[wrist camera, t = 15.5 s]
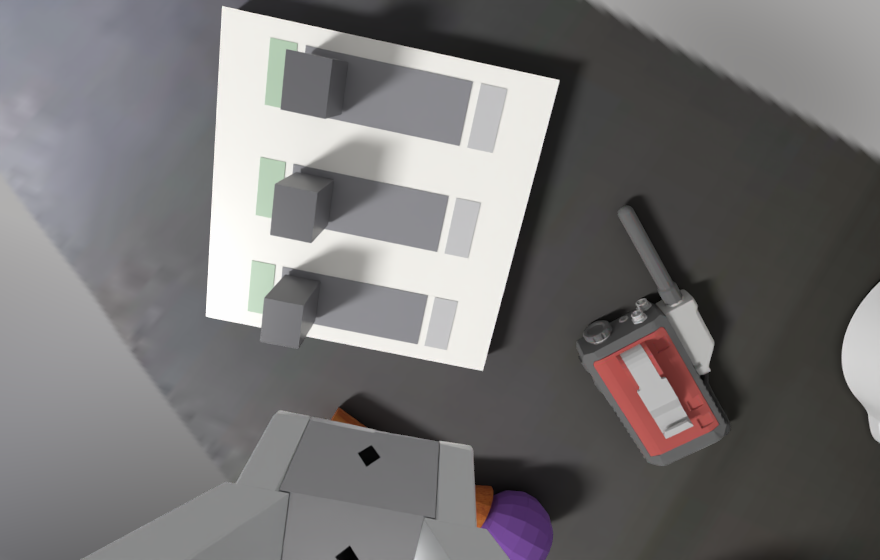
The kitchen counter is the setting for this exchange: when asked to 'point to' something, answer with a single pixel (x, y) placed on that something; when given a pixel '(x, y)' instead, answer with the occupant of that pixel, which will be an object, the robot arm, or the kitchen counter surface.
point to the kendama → (504, 516)
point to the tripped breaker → (313, 84)
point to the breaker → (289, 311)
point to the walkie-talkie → (657, 365)
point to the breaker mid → (301, 207)
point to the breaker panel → (375, 188)
